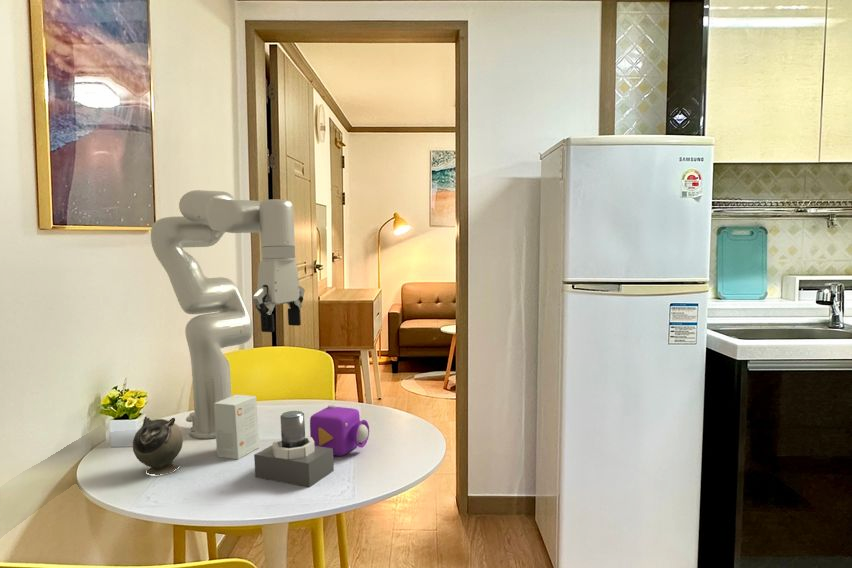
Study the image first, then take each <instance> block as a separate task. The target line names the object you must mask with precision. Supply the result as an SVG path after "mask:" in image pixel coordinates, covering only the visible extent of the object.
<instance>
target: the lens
mask: <svg viewBox="0 0 852 568" xmlns="http://www.w3.org/2000/svg"><path fill="white" fill-rule="evenodd" d="M305 429H306V424H305V413H304V412H303V411H301V410H288V411H285V412H283V413H281V415H280V437H281V438H280V439H281V440H282V447H284V448H295V447H302V446H304V445H305V436H306V430H305Z"/></svg>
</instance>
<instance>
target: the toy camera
mask: <svg viewBox="0 0 852 568" xmlns="http://www.w3.org/2000/svg"><path fill="white" fill-rule="evenodd" d="M360 416H361V414H360V412H359V410H358V409H356V408H351V407H342V406H336V404H332V403H331V404H328V405H327V406H326V407H325V408H323V409H322V410H319V411H316V412H315V413H314V414H312V415H311V416H310V418H309V434H310V436H309V437H312V438H313V440H314V442H315V446H320V447H327V448H333V456H339V457H342V456H344V455H347V454H348V453H349V452H352V451H353V450H355V448H357V447H358V448H361V449H362V448H363V447H365V446H366V444H367V442H368V440H369V436H370V426H369V422H368V421H367V420H366V419H361V417H360Z"/></svg>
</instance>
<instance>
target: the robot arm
mask: <svg viewBox="0 0 852 568" xmlns="http://www.w3.org/2000/svg"><path fill="white" fill-rule="evenodd" d="M178 209H179V212H180V213H181V215H182V216H168V217H166V216H165V217H163V218H160V219H158V220H156V221H155V222H154V223H153V224H152V226H151V229H150V243H151V247H152V250H153V253H154V254H155V257H156V258H157V260H158V262H159V264H161V266H162V268H163V269H164V270H165V272H166V274H167V276H168V279H169V282H170V283H171V286H172V289H173V292H174V294H175V296H176V298H177V301H178V304H179V306H180V308H181V310H182V311H183V312H184V313H186V314H188V315H197V316H194V317H192V318H190V320H189V321H187V322H186V323H187V324H186V326H185V331H184V332H185V339H186V343H187V346H188V351H189V356H190V364H191V365H190V366H191V378H192V379H191V380H192V393H193V394H192V395H193V408H194V409H193V410H194V412H189V415H188V416H186V418H185V421H186V422H187V423H188V422H189V423H192V425H191V426H192V427H190V428H189V429H188V433H189V436H190V437H191V438H195V439H216V429H215V414H214V403H216V402H219V401H221V400H224V399H226V398H229V397H231V396H232V382H231V367H230V366H231V365H230V362H229V360H228V358H227V357H226V355H224V353H223V352H222V350H221V349H225V348H228V347H233V346H239V345H243V344H246V343H247V342H249V341H250V340H251V339H252V336H253V334H254V325H253V321H252V318H251V315H250V313H249V311H248V308H247V307H246V304H245V302H244V299H243V297H242V295H241V292H240V290H239V288H238V286H237V284H235V283H234V282H233V280H231V279H230V278H228V277H223V276H222V277H207V276H205V274H204V273H203V271H202V270H203V269H202V267H201V265H200V263H199V262H198V260H197V259H196V258H194V257H193V256H192V255H191V254H189V253H188V252H187V251H185V250H184V249H185V248H207V247H211V246H214V245H216V244H217V243H218V242H219V241H220V240H221V238H222V237H223V235H224V234H225V233H228V234H248V233H249V234H250V233H251V234H253V233H254V234H260V237H259V238H260V253H261V255H260V257H261V261H259V265H258V270H257V287H256V288H257V290H256V292H255V294H254V295H253V296H252V301H253V302H254V305H255V309H257V311H258V315H260V326H261V327H260V329H261V332H262V333H274V332H275V314H273V313H272V312H273V311H274V308H276V306H277V305H283V304H287V306H288V307H289V308H287V319H288V320H287V321H288V322H287V323H288V326H297V327H298V326H301V325H302V324H301V323H302V322H301V321H302V319H301V309H302V307H303V306H302V303H303V301H304V295H305V291H306V290H305V288H304V287H302V286H301V285H300V281H299V280H300V278H299V270H298V265H297V261H296V241H295V224H294V222H295V221H294V219H295V218H294V206H293V203H292V202H291V201H290V200H288V199H281V198H278V199H266V200H265V199H264V200H253V199H251V200H248V199H244V200H243V199H236V198H235V197H234V196H233V195H232V194H230V193H229V192H227V191H220V190H219V191H218V190H203V189H202V190H200V189H198V190H190V191H188V192H185V193H184V194H183V195H182V196H181V198H180V199H179V203H178Z"/></svg>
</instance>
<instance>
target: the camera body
mask: <svg viewBox="0 0 852 568" xmlns="http://www.w3.org/2000/svg"><path fill="white" fill-rule="evenodd" d="M253 458H254V477H255V478H257V479H262V480H269V481H274V482H278V483H279V482H280V483H286V484H291V485H296V486H303V487H307V488H310V487H312V486H314V485H315V484H316V483H318V482H319V481H321V480H322V479H324V478H325V477H327V476H328V475H329V474H331V473H332V472H334V470H335V469H334V455H333V448H327V447H320V446H315V442H314V440H313V438H312V437H310V436H306V435H305V445H304V446H302V447H295V448H284V447H282V440H281V438H279V439H277V440H275V441H273V443H272V445H270V446H268V447H266V448H264V449H262V450H260V451H258V452H256V453H255V454H254V455H253Z"/></svg>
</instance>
